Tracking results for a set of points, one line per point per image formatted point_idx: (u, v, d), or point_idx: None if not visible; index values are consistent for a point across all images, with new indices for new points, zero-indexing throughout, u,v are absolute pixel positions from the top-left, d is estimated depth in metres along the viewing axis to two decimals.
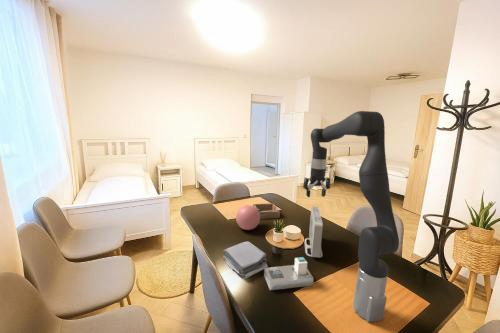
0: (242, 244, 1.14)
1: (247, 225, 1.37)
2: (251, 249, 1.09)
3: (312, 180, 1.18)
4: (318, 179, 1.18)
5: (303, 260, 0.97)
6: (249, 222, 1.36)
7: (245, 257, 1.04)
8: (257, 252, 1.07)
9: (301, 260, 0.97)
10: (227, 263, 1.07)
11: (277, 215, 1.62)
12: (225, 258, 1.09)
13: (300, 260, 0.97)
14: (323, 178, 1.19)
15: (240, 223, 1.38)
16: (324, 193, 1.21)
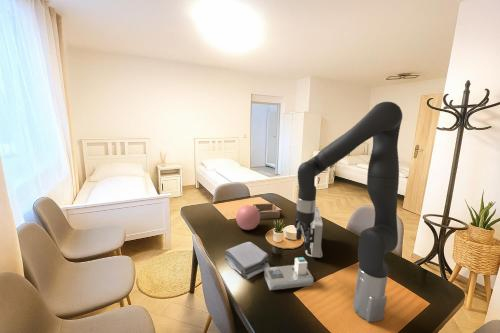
0: (244, 244, 1.14)
1: (247, 225, 1.37)
2: (253, 250, 1.09)
3: None
4: None
5: (303, 260, 0.97)
6: (249, 222, 1.36)
7: (247, 258, 1.03)
8: (259, 252, 1.07)
9: (301, 260, 0.97)
10: (229, 263, 1.07)
11: (277, 215, 1.62)
12: (227, 258, 1.08)
13: (300, 260, 0.97)
14: None
15: (240, 223, 1.38)
16: None
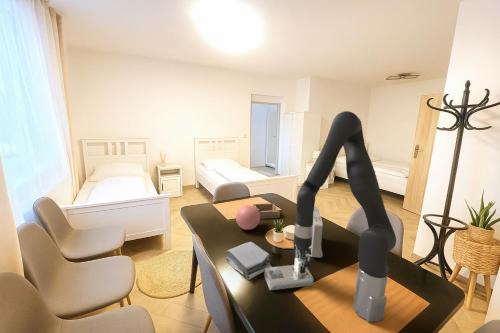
0: (245, 245, 1.14)
1: (247, 225, 1.37)
2: (254, 250, 1.09)
3: None
4: None
5: None
6: (249, 222, 1.36)
7: (248, 258, 1.03)
8: (260, 253, 1.07)
9: None
10: None
11: (277, 215, 1.62)
12: (228, 259, 1.08)
13: None
14: None
15: (240, 223, 1.38)
16: None
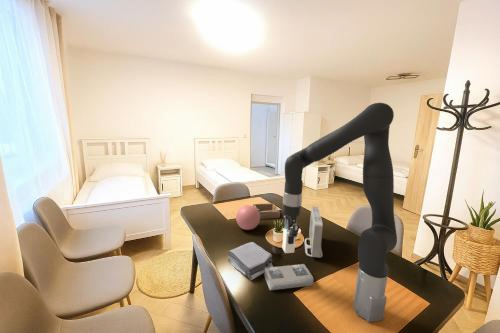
0: (247, 245, 1.14)
1: (247, 225, 1.37)
2: (256, 250, 1.09)
3: None
4: None
5: None
6: (249, 222, 1.36)
7: (250, 258, 1.03)
8: (262, 253, 1.06)
9: None
10: (232, 264, 1.07)
11: (277, 215, 1.62)
12: (230, 259, 1.08)
13: None
14: None
15: (240, 223, 1.38)
16: None
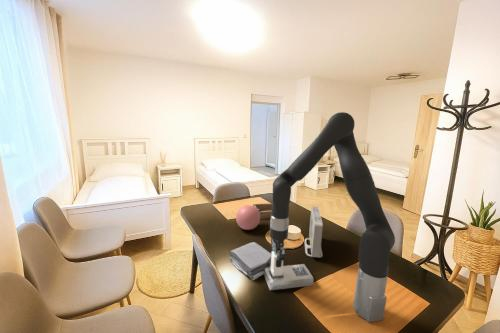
0: (249, 245, 1.14)
1: (247, 225, 1.37)
2: (258, 250, 1.09)
3: None
4: None
5: None
6: (249, 222, 1.36)
7: (252, 258, 1.03)
8: (264, 253, 1.06)
9: None
10: (234, 264, 1.07)
11: None
12: (232, 259, 1.08)
13: None
14: None
15: (240, 223, 1.38)
16: None
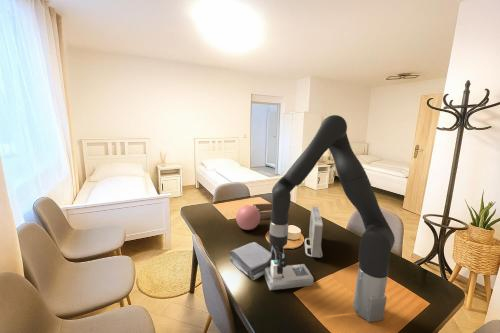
0: (249, 245, 1.14)
1: (247, 225, 1.37)
2: (258, 250, 1.09)
3: None
4: None
5: None
6: (249, 222, 1.36)
7: (253, 258, 1.03)
8: (264, 253, 1.06)
9: None
10: (235, 264, 1.07)
11: None
12: (232, 259, 1.08)
13: (276, 263, 0.94)
14: None
15: (240, 223, 1.38)
16: None
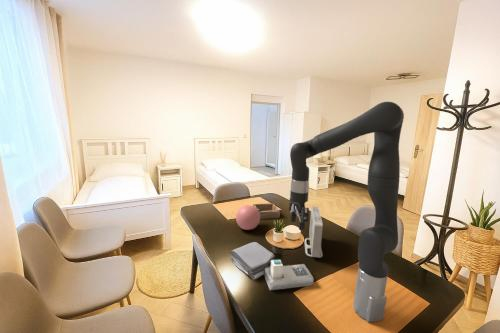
0: (250, 245, 1.14)
1: (247, 225, 1.37)
2: (259, 250, 1.09)
3: None
4: None
5: (279, 263, 0.94)
6: (249, 222, 1.36)
7: (253, 258, 1.03)
8: (265, 253, 1.07)
9: (277, 263, 0.94)
10: None
11: (277, 215, 1.62)
12: (233, 259, 1.08)
13: (276, 263, 0.94)
14: None
15: (240, 223, 1.38)
16: (295, 217, 1.02)
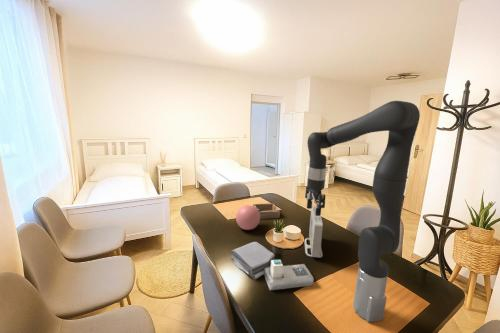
0: (250, 244, 1.14)
1: (247, 225, 1.37)
2: (259, 250, 1.09)
3: None
4: None
5: (279, 263, 0.94)
6: (249, 222, 1.36)
7: (254, 258, 1.03)
8: (265, 252, 1.07)
9: (277, 263, 0.94)
10: (236, 264, 1.07)
11: (277, 215, 1.62)
12: (234, 259, 1.08)
13: (276, 263, 0.94)
14: None
15: (240, 223, 1.38)
16: None
